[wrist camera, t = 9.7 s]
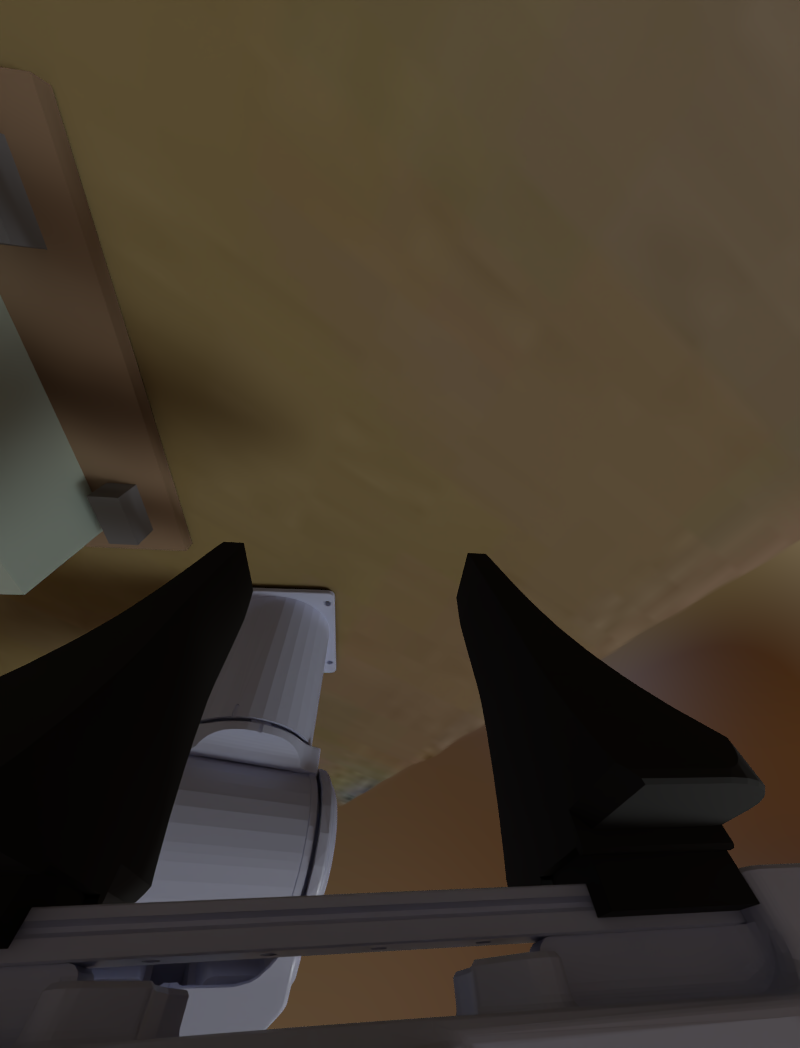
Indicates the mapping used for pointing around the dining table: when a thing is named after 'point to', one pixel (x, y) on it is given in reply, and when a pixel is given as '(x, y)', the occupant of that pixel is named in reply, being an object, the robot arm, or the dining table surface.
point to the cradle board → (78, 324)
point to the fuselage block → (35, 476)
